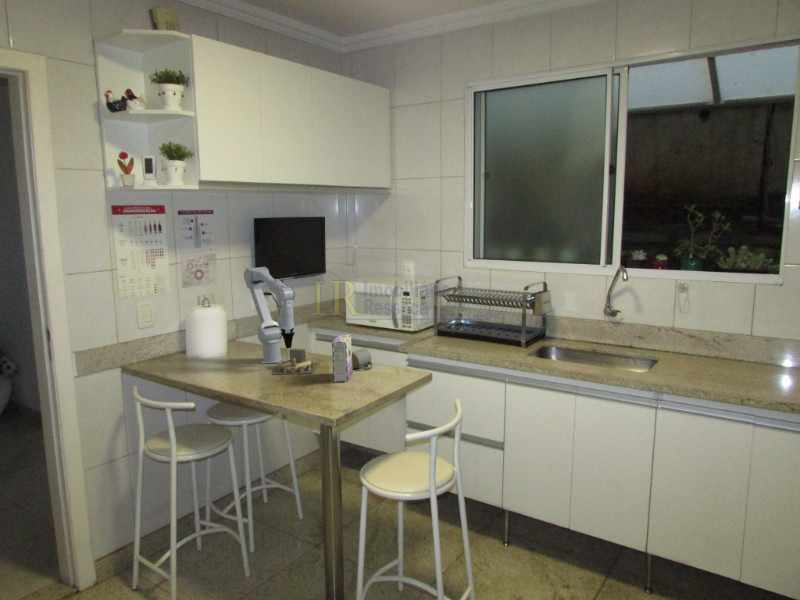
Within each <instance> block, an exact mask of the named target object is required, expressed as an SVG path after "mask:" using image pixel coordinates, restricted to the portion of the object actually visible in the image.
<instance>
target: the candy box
mask: <svg viewBox="0 0 800 600" xmlns="http://www.w3.org/2000/svg"><path fill="white" fill-rule="evenodd" d="M331 347H332V348H331V350H332V372H333V373H332V374H333V383H349V381H350V378H351V377H352V374H353V373H354V372H353V371H354V369H353V368H352V352H353V351H352V335H351V334H337V335H336V337H334V339H333V340H332V342H331Z"/></svg>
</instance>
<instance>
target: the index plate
mask: <svg viewBox="0 0 800 600" xmlns="http://www.w3.org/2000/svg"><path fill="white" fill-rule="evenodd" d="M319 365H320V362H314V368H311V370H305V371H303V372H300V371H299V372H294V373H291V372H283V371H279V366H277V367H276V369H275V370H274V371H273V372H272V373H271V375H272V376H280V375H283V376H284V375H286V376H287V375H312V374H314V373H315V371H316V370H317V367H318V366H319Z"/></svg>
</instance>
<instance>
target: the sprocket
mask: <svg viewBox="0 0 800 600" xmlns="http://www.w3.org/2000/svg"><path fill="white" fill-rule="evenodd" d="M314 363H315V362H314V361H313V360H312V359H311V360H309V359H308V358H306V361H304V362H296V358H291V361H290V359H289V360H282V361H281V363H280V362H279V363H277V364H278V366H279V371H283V372H291V373H294V372H299V371H300V372H303V371H305V370H311V368H314ZM278 366H277V367H278Z"/></svg>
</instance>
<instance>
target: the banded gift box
mask: <svg viewBox="0 0 800 600" xmlns="http://www.w3.org/2000/svg"><path fill="white" fill-rule="evenodd" d="M291 358H296V362H304V361H306V359H307V358H306V349H305V348H304V349H302V348H290V349H289V360H290V361H291Z"/></svg>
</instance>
